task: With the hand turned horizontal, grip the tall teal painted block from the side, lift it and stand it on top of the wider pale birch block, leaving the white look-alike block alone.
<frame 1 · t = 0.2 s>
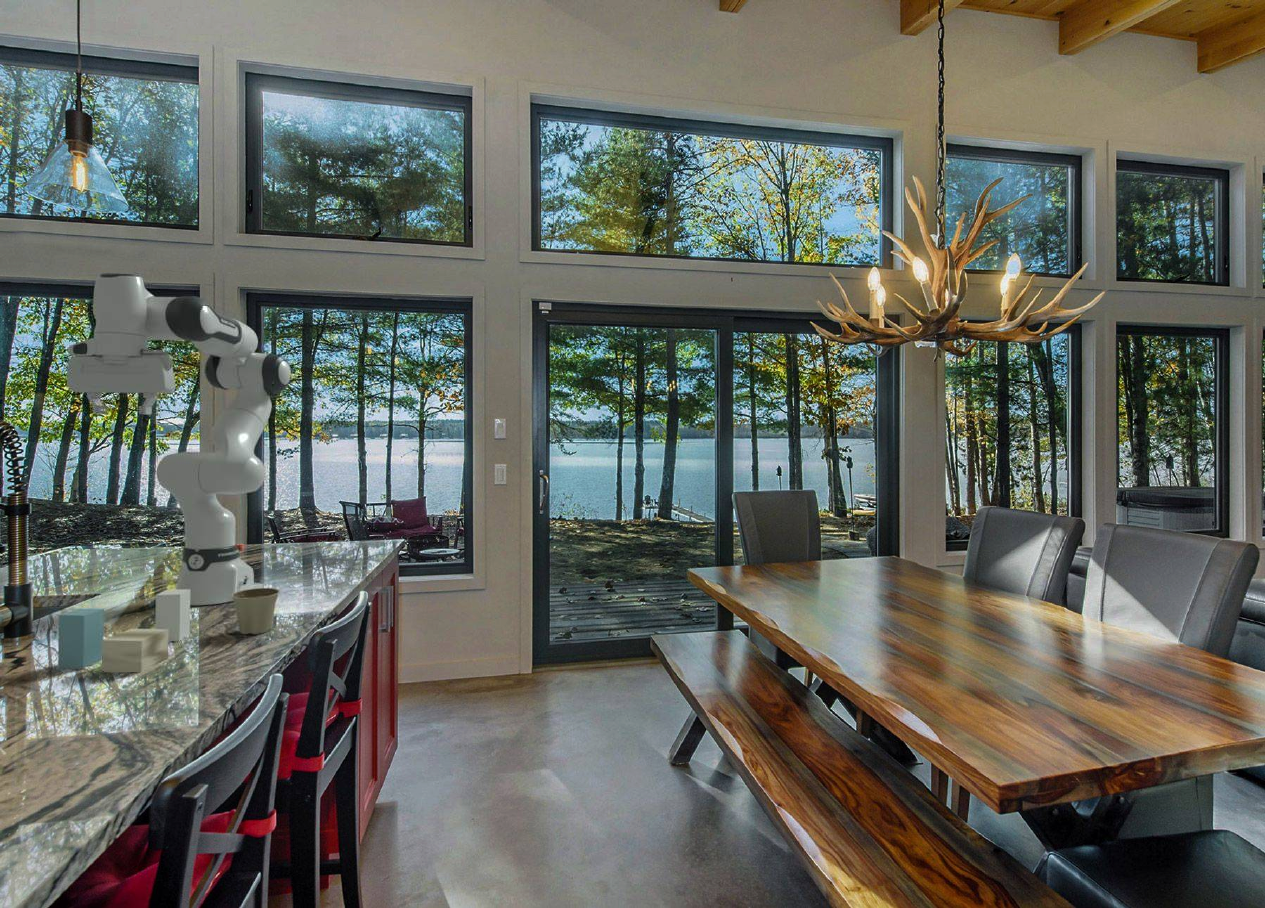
hand: (122, 414, 133), 48 cm above the table, tool pointing down, fingers open, 8 cm apart
teal block: (80, 664, 117), on the table
birch block: (135, 666, 117), on the table
white block: (172, 638, 133), on the table
flower pot: (255, 631, 140), on the table
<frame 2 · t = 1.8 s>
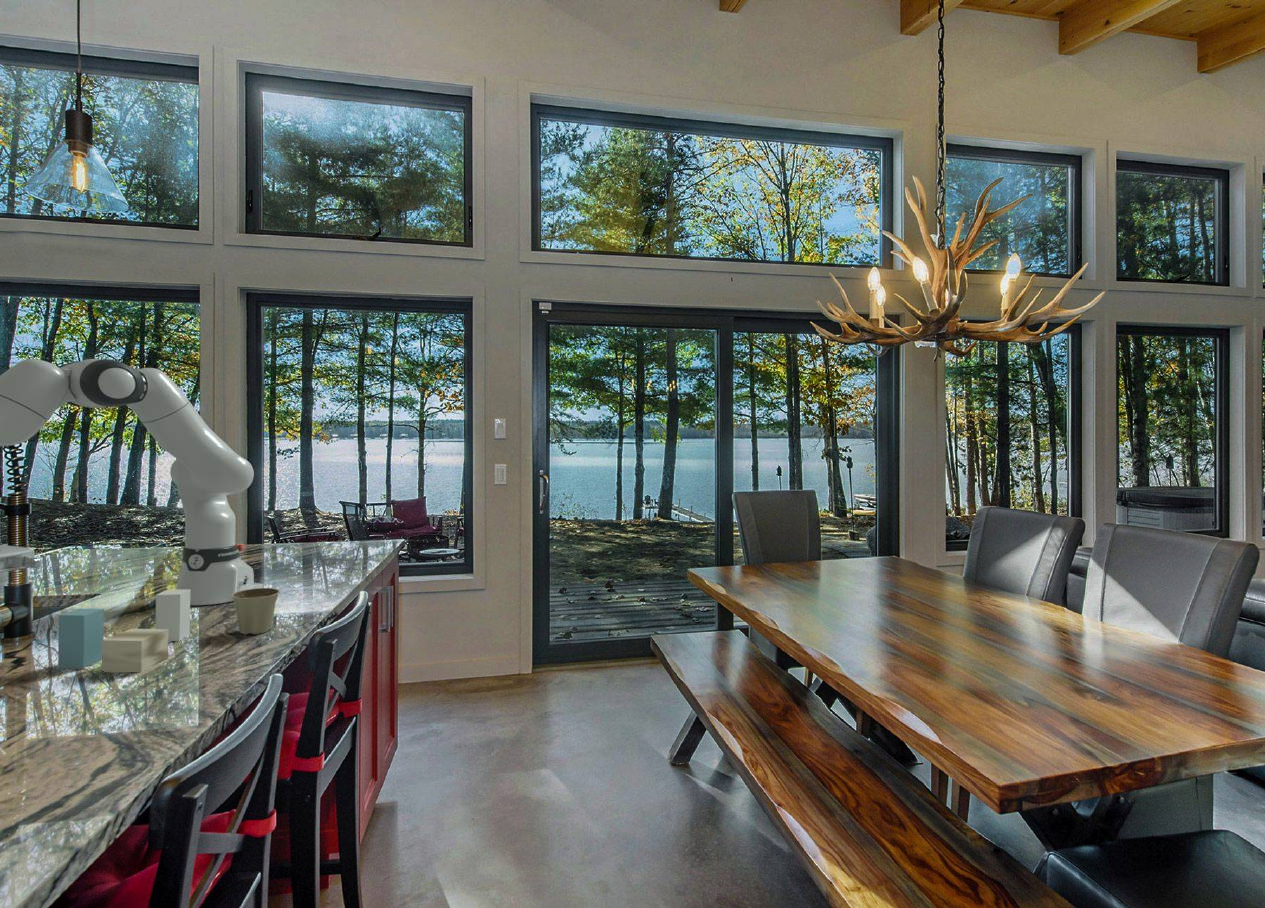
hand: (16, 567, 116), 18 cm above the table, tool horizontal, fingers open, 8 cm apart
nothing on the table moved.
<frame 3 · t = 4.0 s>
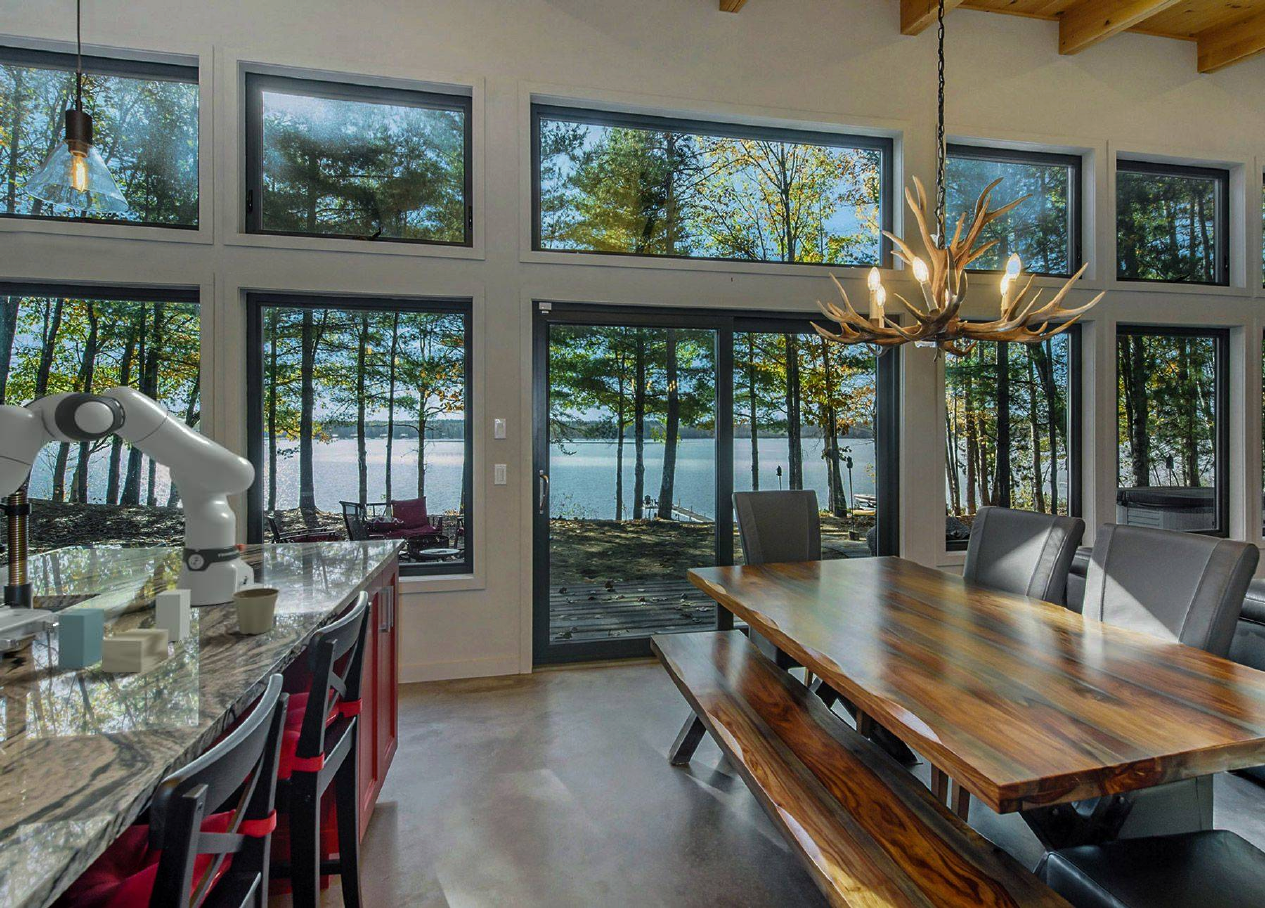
hand: (35, 635, 117), 5 cm above the table, tool horizontal, fingers open, 8 cm apart
nothing on the table moved.
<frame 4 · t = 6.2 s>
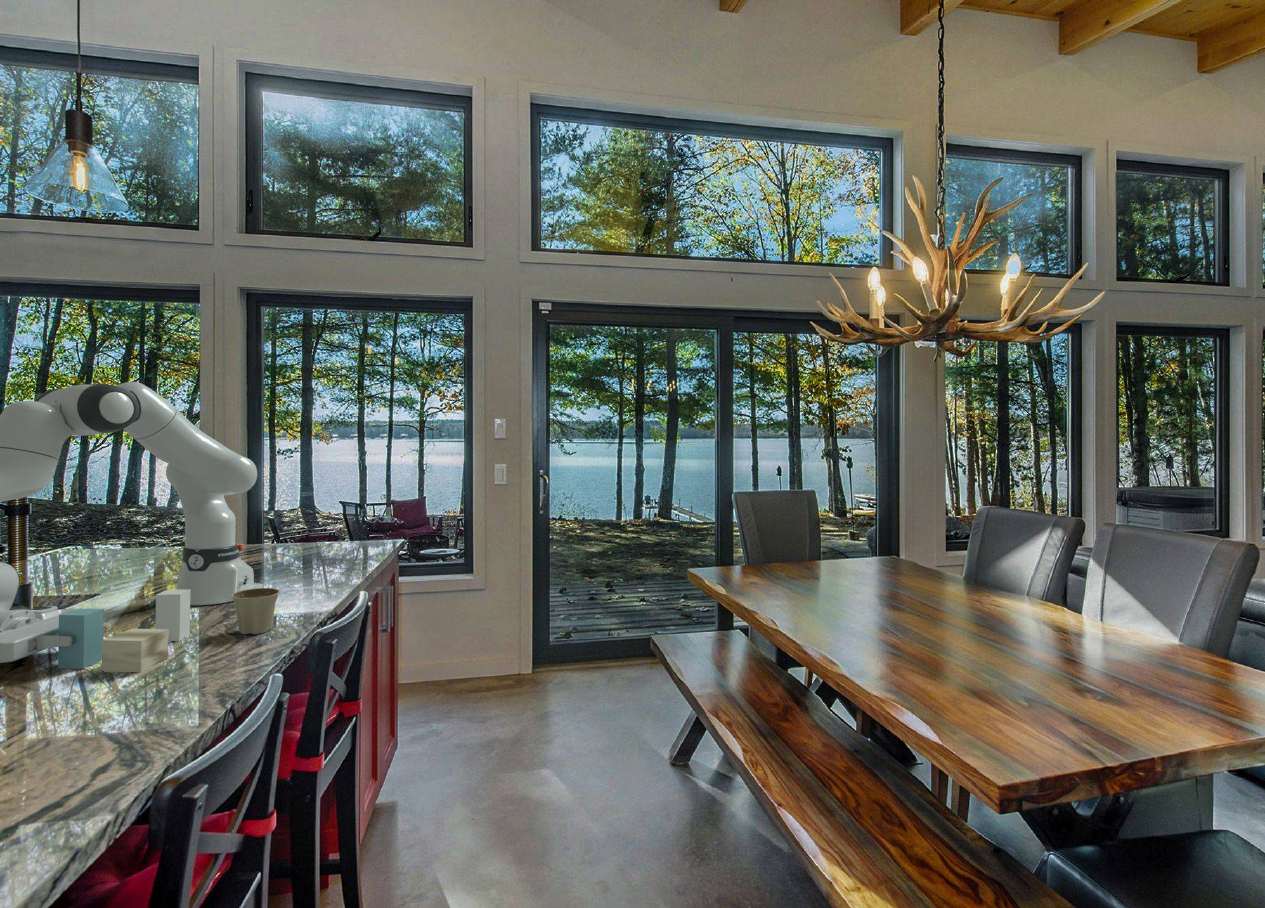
hand: (86, 635, 117), 6 cm above the table, tool horizontal, fingers closed on teal block, 4 cm apart
teal block: (81, 664, 117), on the table, touching gripper
everything else where it was.
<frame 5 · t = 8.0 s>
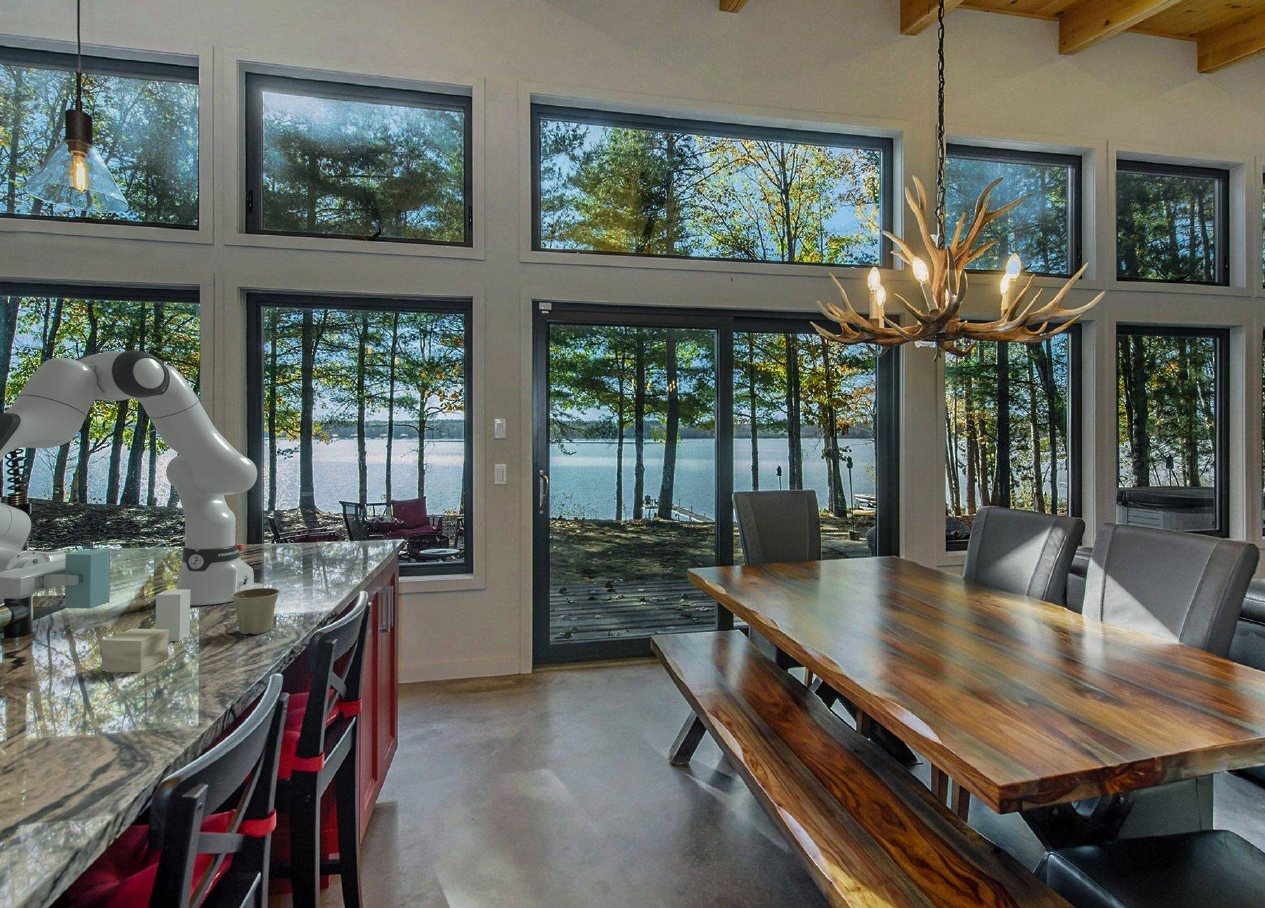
hand: (93, 576, 117), 17 cm above the table, tool horizontal, fingers closed on teal block, 4 cm apart
teal block: (87, 605, 117), point 11 cm above the table, touching gripper
everything else where it was.
when the fingers open (12 cm above the table, at t = 10.1 s): teal block drops 1 cm, resting on birch block.
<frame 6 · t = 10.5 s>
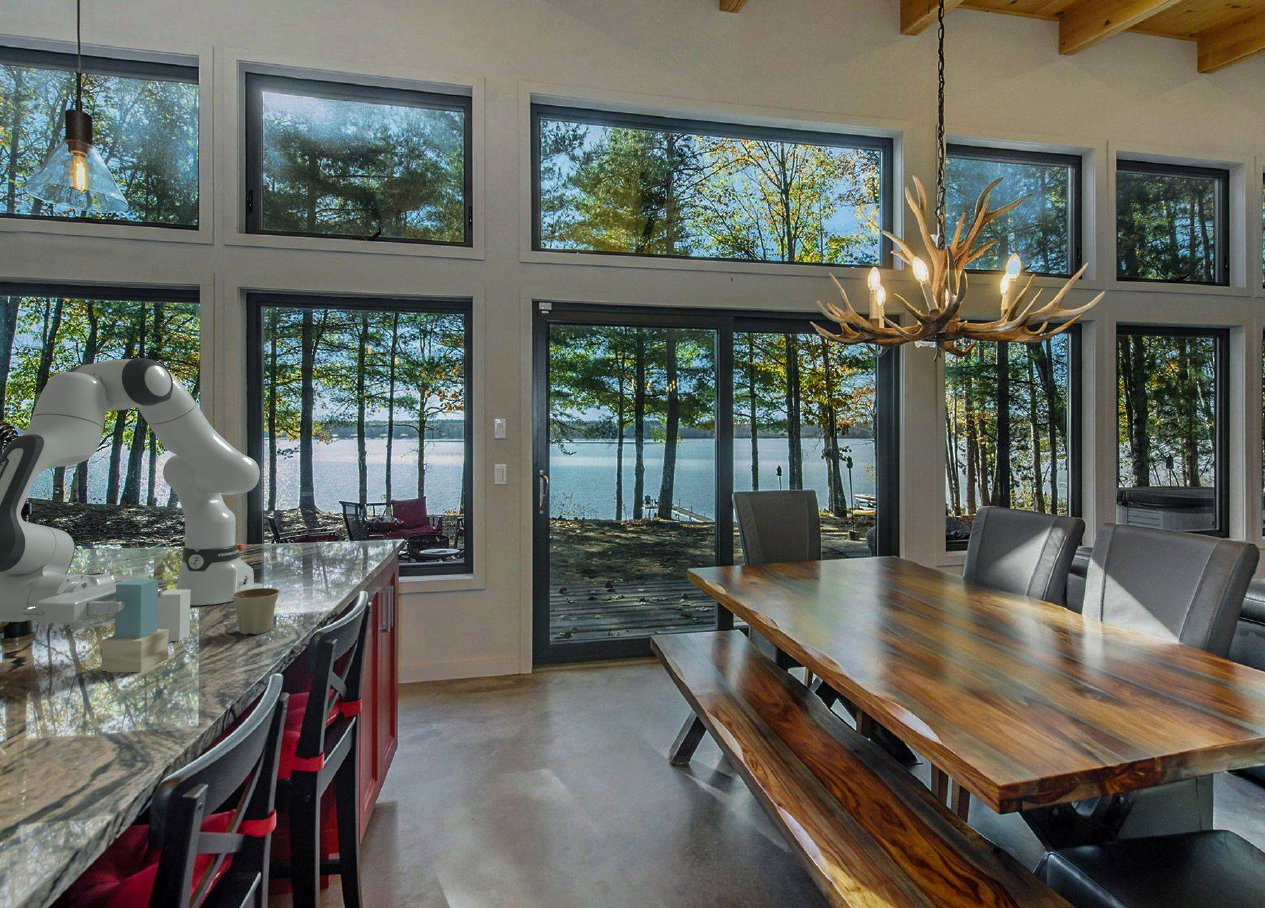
hand: (141, 599, 117), 12 cm above the table, tool horizontal, fingers open, 8 cm apart
teal block: (136, 634, 117), point 6 cm above the table, touching birch block
birch block: (135, 666, 117), on the table, touching teal block
everything else where it was.
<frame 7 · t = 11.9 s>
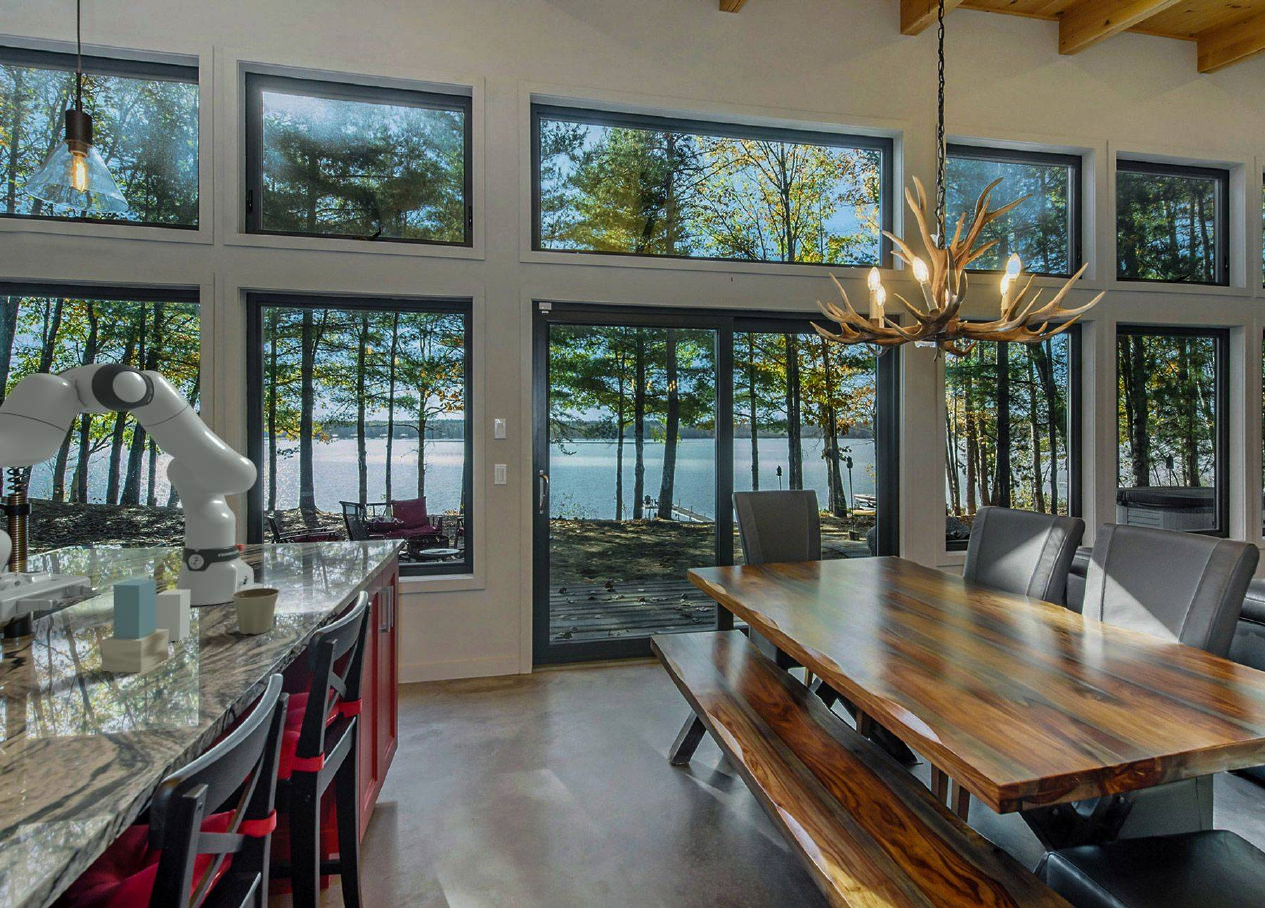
hand: (75, 597, 117), 13 cm above the table, tool horizontal, fingers open, 8 cm apart
nothing on the table moved.
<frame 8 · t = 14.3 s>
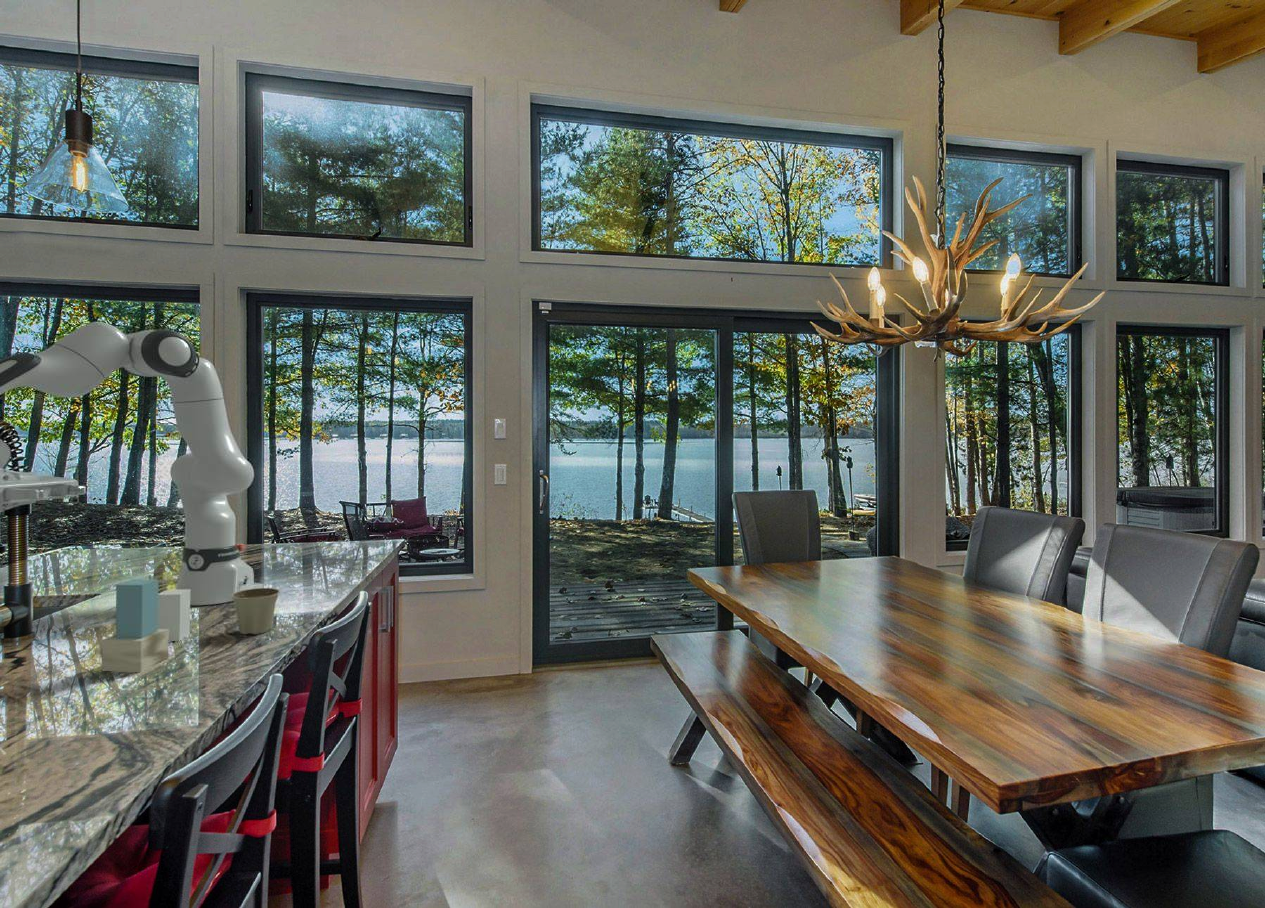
hand: (62, 492, 120), 32 cm above the table, tool horizontal, fingers open, 8 cm apart
nothing on the table moved.
at the end: teal block 0.1 cm off-centre on the birch block, point 6.0 cm above the birch block's base; teal block tilted 0°; the gripper is holding nothing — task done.
